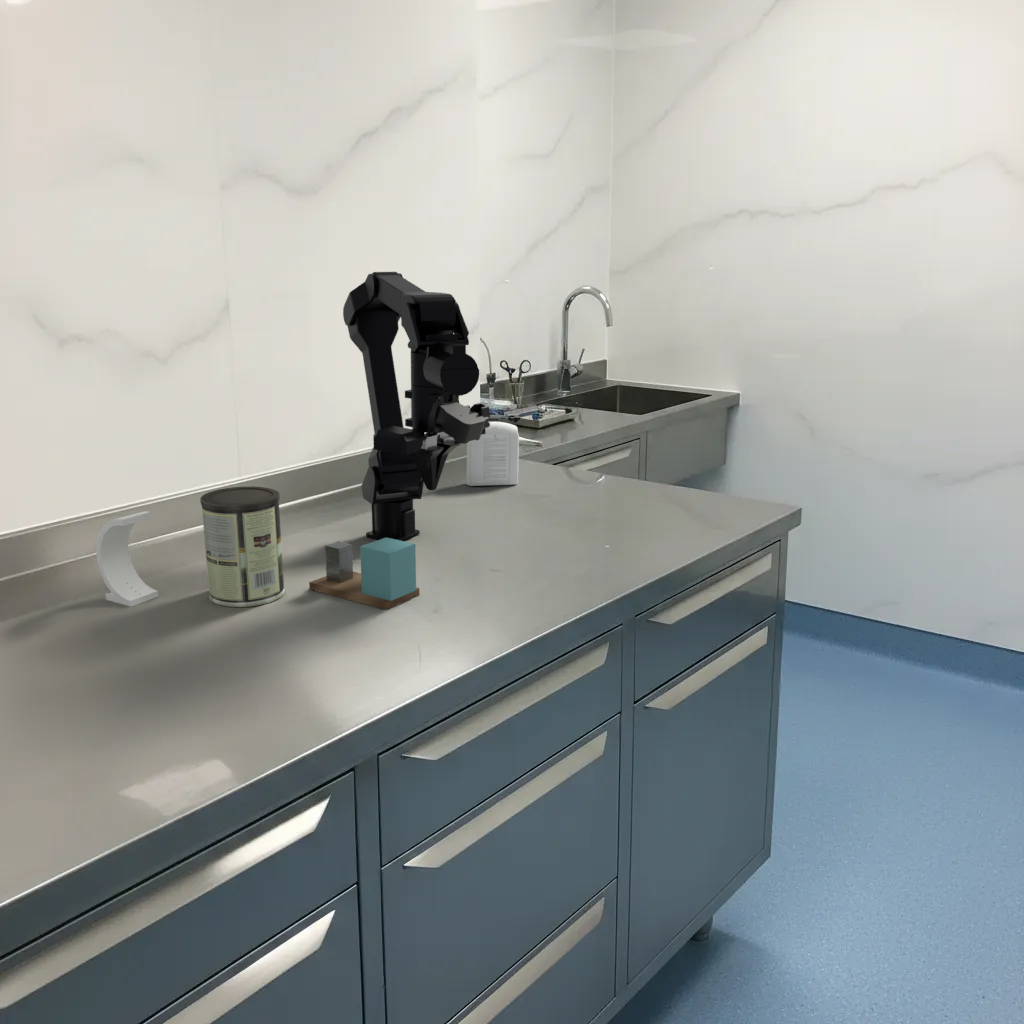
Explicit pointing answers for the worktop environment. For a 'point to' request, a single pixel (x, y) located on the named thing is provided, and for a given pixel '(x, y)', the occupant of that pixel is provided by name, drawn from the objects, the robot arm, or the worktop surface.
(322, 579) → the walnut strip
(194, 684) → the worktop surface
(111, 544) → the headphone stand
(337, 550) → the dark metal post
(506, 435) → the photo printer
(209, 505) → the coffee can
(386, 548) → the turquoise upright block
